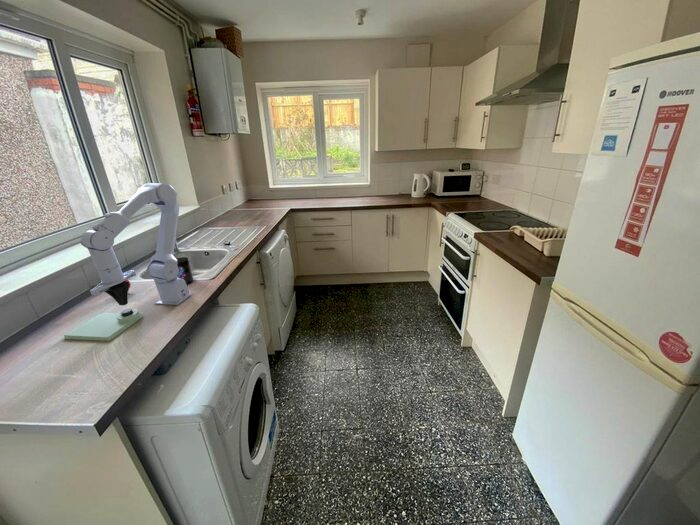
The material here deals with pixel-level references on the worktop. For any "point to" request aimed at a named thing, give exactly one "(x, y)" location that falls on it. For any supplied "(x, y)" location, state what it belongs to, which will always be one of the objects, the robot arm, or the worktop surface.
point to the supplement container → (184, 270)
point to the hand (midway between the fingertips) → (123, 304)
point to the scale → (104, 326)
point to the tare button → (126, 312)
